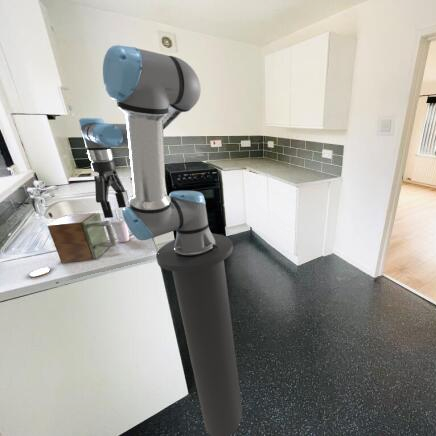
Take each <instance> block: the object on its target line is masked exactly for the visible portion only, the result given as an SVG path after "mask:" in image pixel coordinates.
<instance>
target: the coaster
mask: <svg viewBox="0 0 436 436" xmlns="http://www.w3.org/2000/svg"><path fill="white" fill-rule="evenodd" d="M50 272H51V269H50V268H49V267H44V268H39V269H36V270H34V271H32V272H30V273H29V277H30V278H38V277H43V276H44V275H47V274H49V273H50Z"/></svg>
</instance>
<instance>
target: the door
mask: <svg viewBox="0 0 436 436" xmlns="http://www.w3.org/2000/svg"><path fill="white" fill-rule="evenodd" d="M95 213H96V214H95V215H93V216H91V217H90V218H88V219H87V220H85V221H84V222H82V226H83V229H84V232H85V235H86V238H87V241H88V244H89V247H90V250H91V253H92V256H93V260H97V259H98V258H99V257H100V256H101V255H102V254H103V253H104V252H105V251H106V250H107V249H108V248H111V247H116V246H117V245H118V244H117V241H116V236H115V233H114V229H113V227H112V225H111V223H110V221H111V220H102V217H101V213H100V212H95ZM105 228H106V230H105ZM106 231H107V234H106ZM107 235H108V237H107ZM108 239H109V240H108Z"/></svg>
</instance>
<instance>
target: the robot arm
mask: <svg viewBox="0 0 436 436" xmlns="http://www.w3.org/2000/svg"><path fill="white" fill-rule="evenodd" d="M102 78H103V84H104V86H105V91H106V94H107V95H108V97H110V98H111V99H112V100H113V101H115V102H116V105H117V108H118V109H119V110H120V111H122V112H123V113H124V116H125V122H126V123H105V121H104V120H103V118H97V117H82V118H79V119H78V123H79V129H80V132H81V135H82V138H83V141H84V144H85V148H86V151H87V152H86V155H87V156H88V158H89V161H91V162H90V166H91V170H92V171H93V172H94V173H98V175H94V176H93V179H94V186H95V202H96V203H98V204H100V206H101V209H102V213H103V218H104V219H109V218H110V219H111V218H112V219H114V214H113V210H112V207H111V202H110V201H109V200H108V199H109V188H110V187H111V188H112V189H113V191H114V195H115V198H116V202H117V206H118V208H122V218H123V217H124V220H125V222H126V224H127V226H128V231H130V233H131V234H132V235H133V237H135V238H136V239H137V240H138V241H147V240H151V239H155V238H156V237H159V236H160V237H161V236H162V235H165V234H169V233H172V232H174V231H176V235H175V236H176V237H175V240H176V241H175V247H174V248H175V253H176V254H177V255H179V256H182V257H195V256H200V255H203V254H206V253H208V252H210V251H212V250H213V249H214V248H218V247H217V246H216V243H215V239H214V237H213V235H212V234H213V232H211V229H210V227H209V221H208V212H207V207H206V200H205V196H204V194H203V193H202V192H200V191H197V190H174V191H173V190H172V191H171V192H170V193H169V195H168V194H166V193H167V192H166V169H165V166H166V165H165V143H164V142H165V141H164V130H165V129H166V128H167V127H168V126H169V125H171V123H172V122H173V121H175V119H177V118H178V117H179V116H180V115H181V114H182V113H186V112H187V113H188V112H190V110H192V109H193V108H194V107H195V106H196V104H197V103H198V101H199V99H200V96H201V91H202V89H201V83H200V79H199V77H198V75H197V73H196V71H195V70H194V69H193V68H192V66H191V65H189V63H187V62H186V61H185V60H183V59H182V58H179V57H177V56H173V55H167V54H163V53H158V52H155V51H151V50H146V49H141V48H137V47H135V46H127V45H120V44H119V45H117V44H116V45H112V46H110V47H109V48H108V49H107V50H106V52H105V55H104V57H103V62H102ZM118 146H119V147H120V146H128V149H129V151H128V152H129V159H130V168H131V170H130V171H131V177H132V186H133V187H132V188H133V194H132V195H131V196H130V197H129V199H128V204H129V206H127V205H126V200H125V196H124V193H126V190H125V187H124V185H123V183H122V181H121V179H120V177H119V175H118V172H117V167H116V163H115V161H114V155H113V151H112V147H118Z"/></svg>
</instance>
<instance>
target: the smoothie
mask: <svg viewBox="0 0 436 436" xmlns="http://www.w3.org/2000/svg"><path fill="white" fill-rule="evenodd" d="M114 213H115V216H116V218H112V219H111V220H109V221H110V223H111V227H112V230H113V232H114V234H115V237H117V238H116V239H117V240H118V242H119V243H126V242H128V241H130V235H129V234H130V233H129V228H128V226H127V224H126V222H125V220H124V217H123V216H122V217H119V215H118V211H117V210H114Z"/></svg>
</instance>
